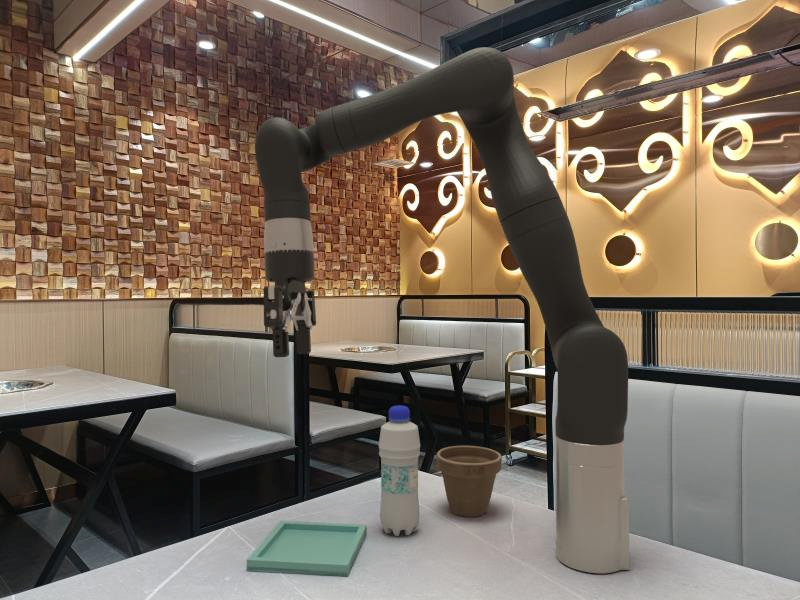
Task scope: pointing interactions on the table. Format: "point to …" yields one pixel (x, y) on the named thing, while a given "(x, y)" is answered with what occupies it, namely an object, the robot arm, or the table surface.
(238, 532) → the table surface
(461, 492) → the flower pot
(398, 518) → the bottle
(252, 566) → the tray
